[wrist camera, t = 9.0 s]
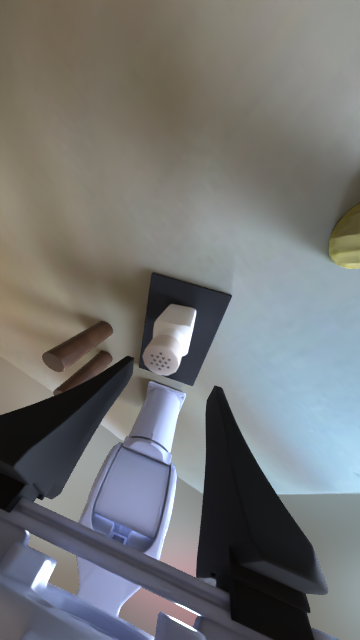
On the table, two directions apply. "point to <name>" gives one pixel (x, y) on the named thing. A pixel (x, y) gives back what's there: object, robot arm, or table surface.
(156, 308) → the mat
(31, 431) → the robot arm
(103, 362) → the walnut dowel
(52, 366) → the walnut dowel
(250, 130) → the table surface
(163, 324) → the pepper shaker
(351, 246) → the vase
